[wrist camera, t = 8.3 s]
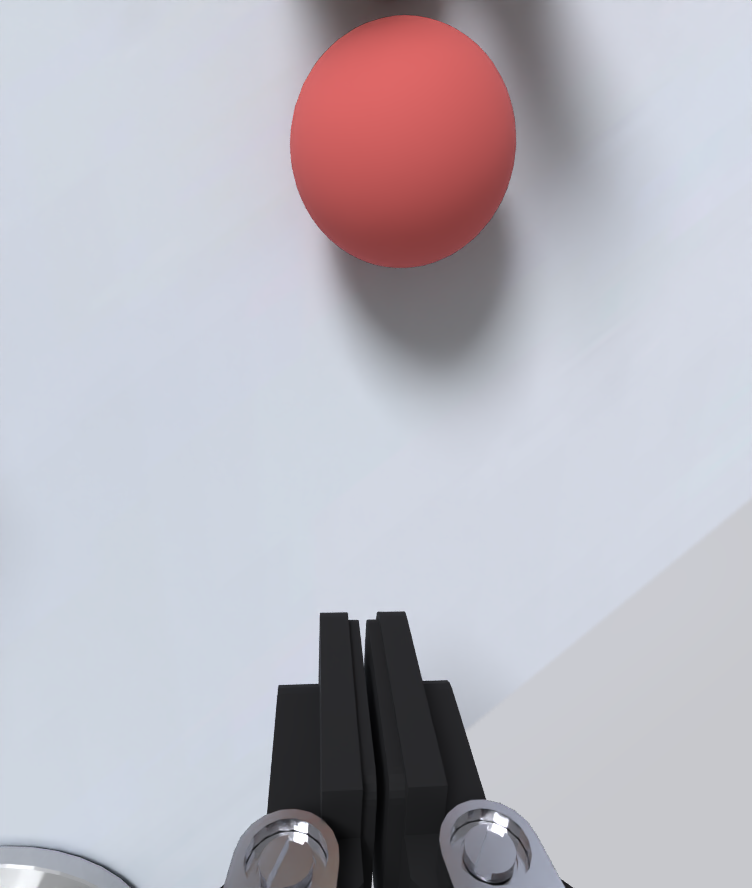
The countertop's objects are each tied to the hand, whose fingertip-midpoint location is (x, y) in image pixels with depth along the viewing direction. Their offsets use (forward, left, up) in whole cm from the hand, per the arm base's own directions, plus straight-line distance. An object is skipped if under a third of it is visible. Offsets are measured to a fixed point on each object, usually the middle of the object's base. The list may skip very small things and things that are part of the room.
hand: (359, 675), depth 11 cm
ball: (+9, -5, -9) cm, 13 cm away
